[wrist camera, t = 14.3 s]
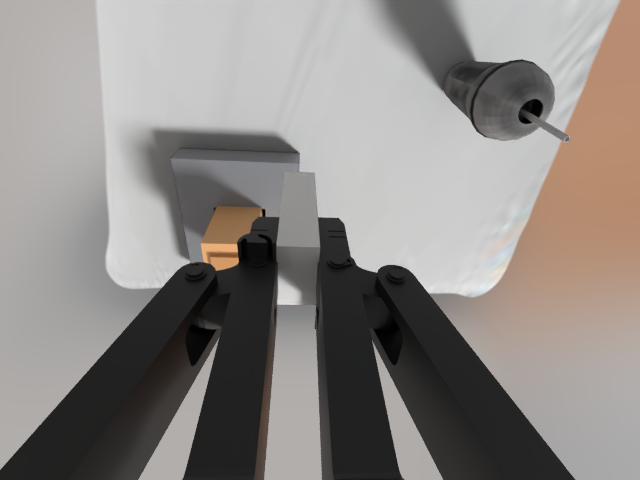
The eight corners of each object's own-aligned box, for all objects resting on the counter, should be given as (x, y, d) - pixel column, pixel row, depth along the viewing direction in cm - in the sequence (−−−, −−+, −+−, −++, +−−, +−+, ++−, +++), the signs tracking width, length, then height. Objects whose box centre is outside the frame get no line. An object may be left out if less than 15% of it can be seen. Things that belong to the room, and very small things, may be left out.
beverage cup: (480, 34, 39) (609, 50, 23) (498, 90, 43) (621, 139, 26) (423, 72, 41) (503, 112, 25) (445, 123, 45) (527, 187, 28)
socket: (180, 147, 45) (170, 158, 42) (299, 153, 46) (299, 163, 43) (200, 265, 56) (194, 281, 53) (296, 267, 57) (296, 283, 54)
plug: (220, 197, 48) (199, 246, 38) (263, 199, 48) (253, 247, 38) (225, 238, 52) (207, 292, 42) (265, 239, 52) (256, 293, 42)
